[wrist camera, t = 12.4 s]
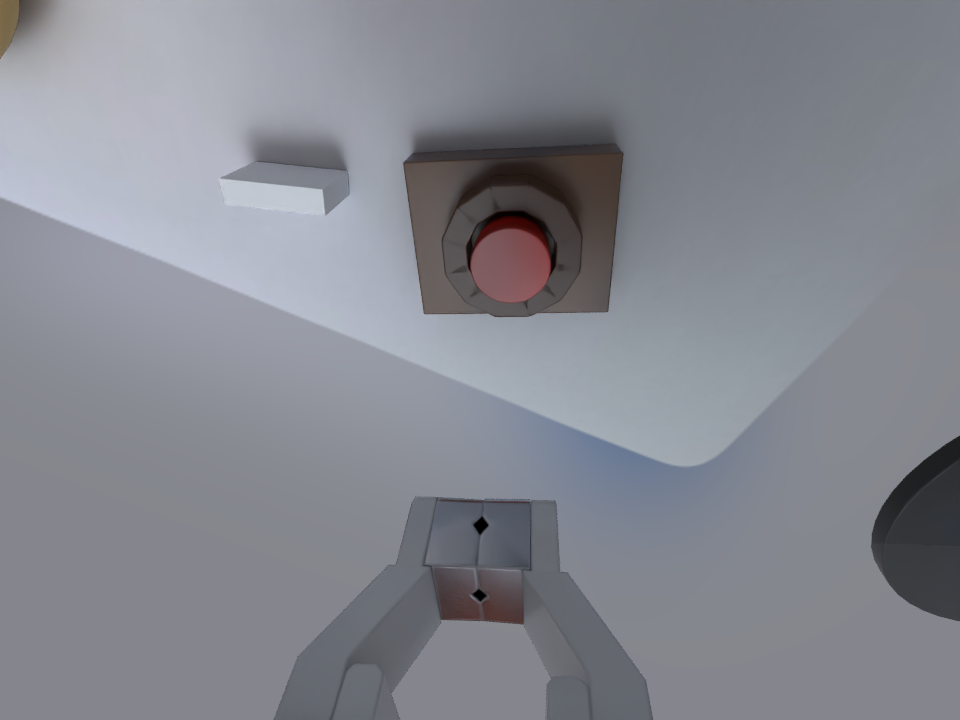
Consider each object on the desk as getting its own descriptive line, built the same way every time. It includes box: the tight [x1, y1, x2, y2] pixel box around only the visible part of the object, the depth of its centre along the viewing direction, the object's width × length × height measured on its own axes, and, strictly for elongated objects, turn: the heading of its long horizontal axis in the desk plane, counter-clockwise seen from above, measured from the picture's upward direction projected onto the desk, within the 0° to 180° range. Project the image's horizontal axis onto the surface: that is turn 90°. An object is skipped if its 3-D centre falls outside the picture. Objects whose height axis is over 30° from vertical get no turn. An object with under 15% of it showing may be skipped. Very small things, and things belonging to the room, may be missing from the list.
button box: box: [403, 144, 623, 317], centre depth 25 cm, size 10×8×4 cm
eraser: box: [219, 161, 349, 216], centre depth 24 cm, size 1×5×4 cm, turn 85°
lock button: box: [470, 216, 551, 303], centre depth 23 cm, size 4×4×2 cm
